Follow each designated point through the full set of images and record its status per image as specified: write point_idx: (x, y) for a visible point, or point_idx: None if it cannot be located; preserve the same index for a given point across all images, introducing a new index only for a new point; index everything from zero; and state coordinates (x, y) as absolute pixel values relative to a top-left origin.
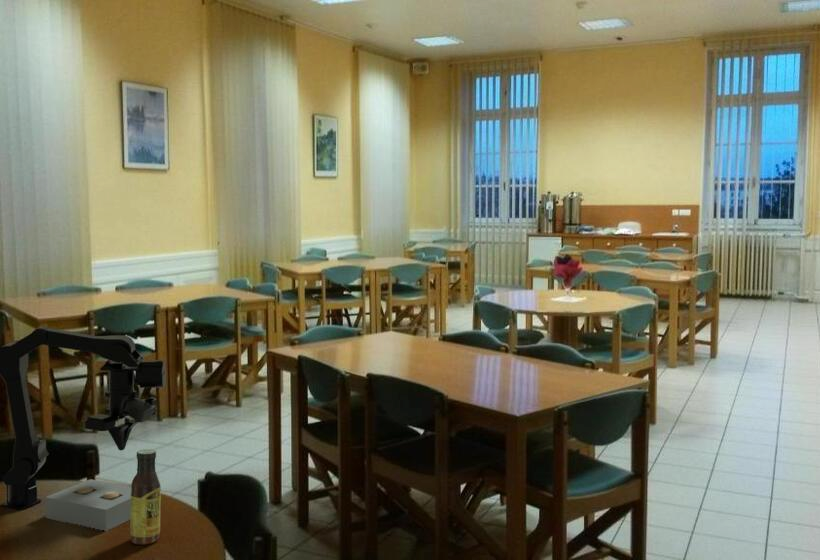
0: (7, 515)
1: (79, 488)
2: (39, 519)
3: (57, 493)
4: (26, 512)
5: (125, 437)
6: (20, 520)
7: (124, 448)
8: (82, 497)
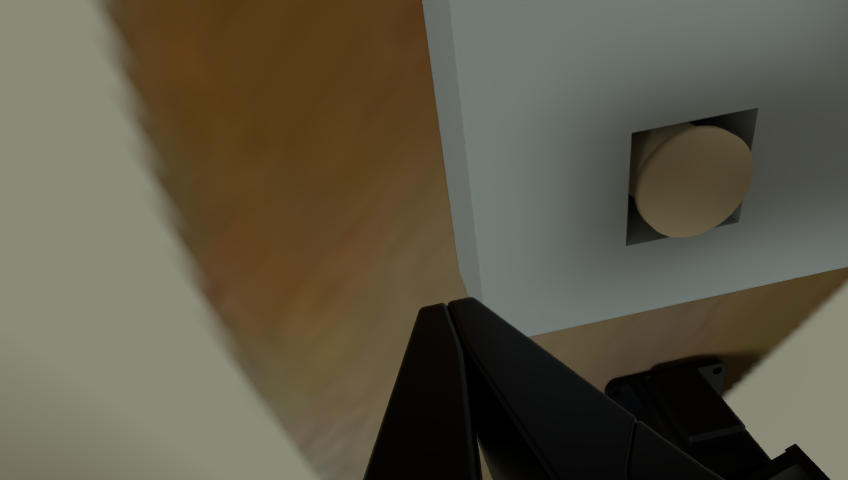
0: (777, 345)
1: (702, 222)
2: None
3: (782, 268)
4: (727, 323)
5: (476, 459)
6: None
7: (424, 313)
8: (810, 75)
